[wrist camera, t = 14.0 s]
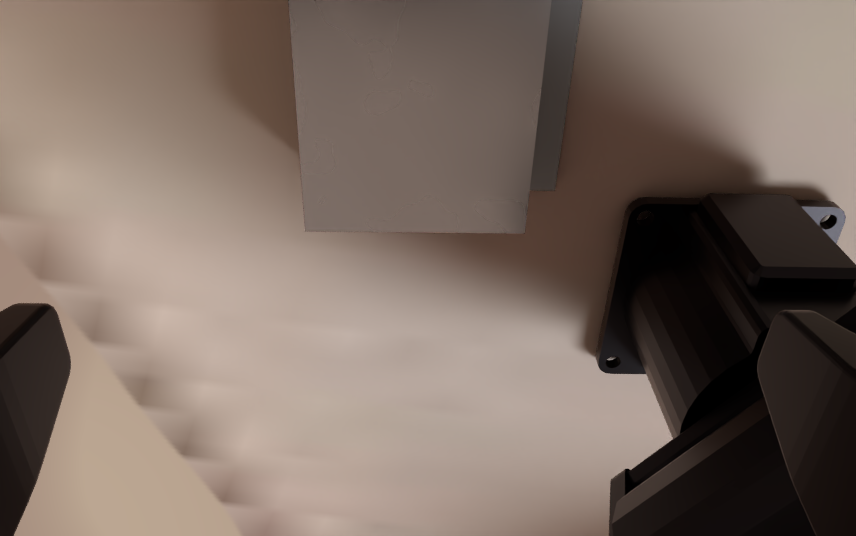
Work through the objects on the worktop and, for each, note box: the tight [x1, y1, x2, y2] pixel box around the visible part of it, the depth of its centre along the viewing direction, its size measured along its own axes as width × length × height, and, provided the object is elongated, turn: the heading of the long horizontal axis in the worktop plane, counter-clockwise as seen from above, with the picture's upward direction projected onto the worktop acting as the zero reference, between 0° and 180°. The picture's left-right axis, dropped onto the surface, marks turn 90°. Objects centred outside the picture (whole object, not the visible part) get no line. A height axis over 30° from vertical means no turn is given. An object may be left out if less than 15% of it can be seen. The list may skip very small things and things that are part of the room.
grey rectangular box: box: [288, 0, 552, 234], centre depth 18 cm, size 7×6×3 cm
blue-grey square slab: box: [530, 0, 583, 191], centre depth 19 cm, size 7×7×1 cm
